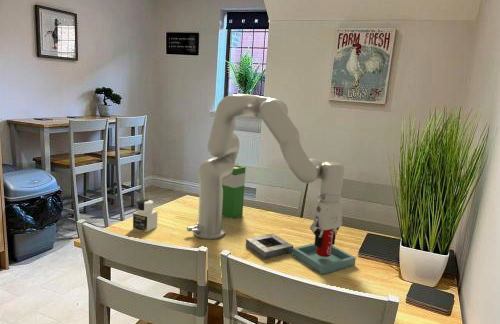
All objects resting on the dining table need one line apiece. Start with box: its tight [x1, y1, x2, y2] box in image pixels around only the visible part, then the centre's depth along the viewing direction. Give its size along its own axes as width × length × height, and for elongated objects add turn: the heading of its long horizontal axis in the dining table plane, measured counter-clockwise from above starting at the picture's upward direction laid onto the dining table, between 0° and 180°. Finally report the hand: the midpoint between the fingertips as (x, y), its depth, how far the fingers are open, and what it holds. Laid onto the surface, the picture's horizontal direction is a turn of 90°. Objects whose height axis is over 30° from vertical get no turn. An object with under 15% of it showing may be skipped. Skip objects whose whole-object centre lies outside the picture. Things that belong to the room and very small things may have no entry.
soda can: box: [316, 229, 334, 257], centre depth 131 cm, size 6×6×12 cm
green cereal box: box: [221, 164, 246, 220], centre depth 174 cm, size 18×7×24 cm, turn 54°
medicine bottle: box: [132, 198, 158, 233], centre depth 150 cm, size 7×7×12 cm
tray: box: [291, 242, 357, 276], centre depth 132 cm, size 16×16×3 cm
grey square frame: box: [245, 233, 294, 261], centre depth 138 cm, size 13×13×3 cm
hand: (324, 244), depth 131 cm, fingers closed on soda can, 5 cm apart
